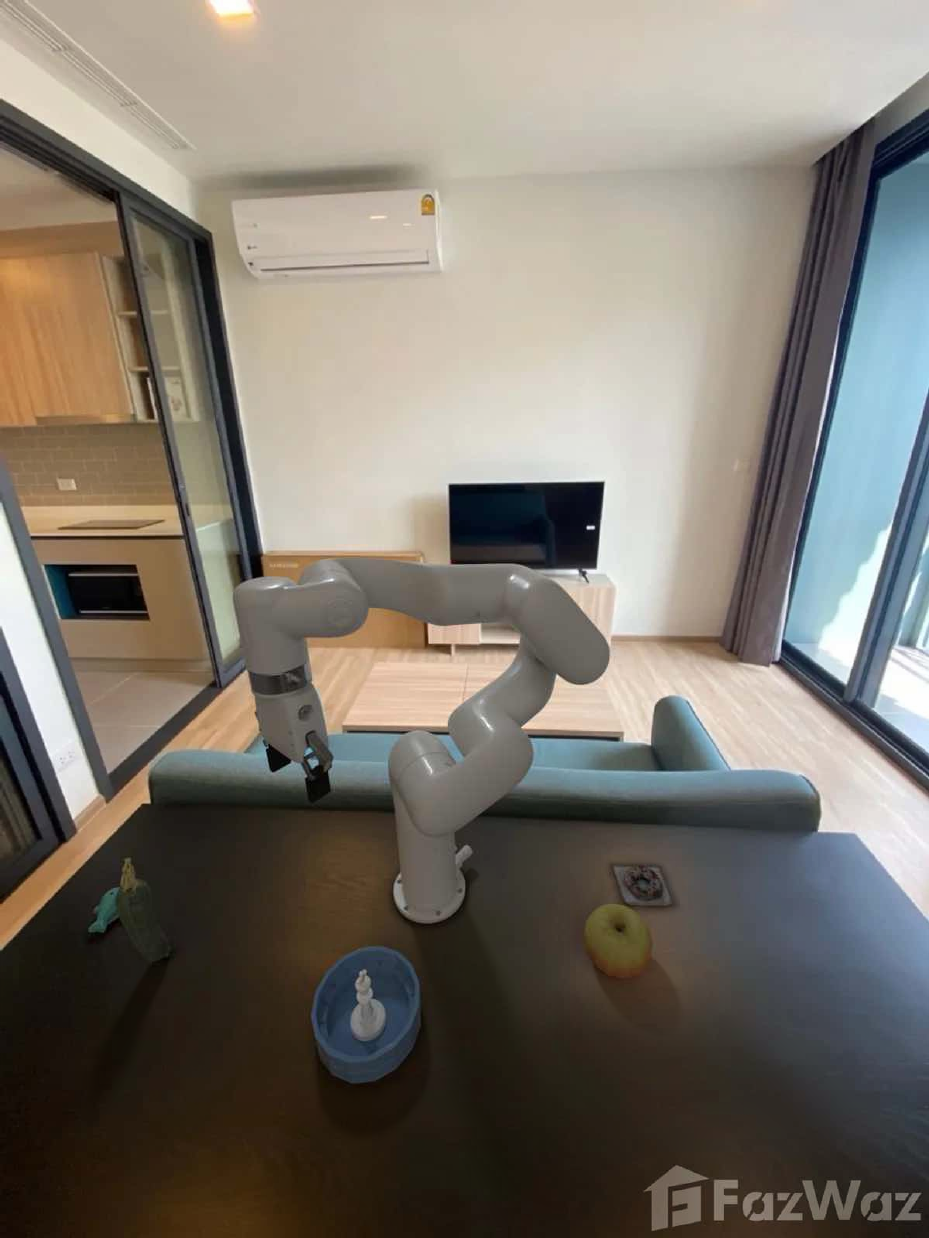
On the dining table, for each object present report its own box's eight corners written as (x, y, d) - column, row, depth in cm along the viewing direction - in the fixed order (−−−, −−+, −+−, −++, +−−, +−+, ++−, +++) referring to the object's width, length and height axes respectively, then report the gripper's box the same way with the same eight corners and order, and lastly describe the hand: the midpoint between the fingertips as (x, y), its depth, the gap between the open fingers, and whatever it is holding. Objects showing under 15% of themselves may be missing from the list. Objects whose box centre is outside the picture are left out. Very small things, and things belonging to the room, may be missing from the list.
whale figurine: (143, 897, 88) (137, 881, 86) (113, 937, 81) (106, 921, 79) (112, 896, 88) (105, 880, 87) (79, 936, 81) (72, 919, 80)
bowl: (376, 949, 78) (373, 927, 76) (442, 1014, 69) (440, 991, 68) (296, 1028, 68) (290, 1005, 66) (361, 1115, 60) (357, 1091, 58)
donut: (623, 905, 84) (625, 896, 84) (612, 866, 92) (613, 858, 91) (673, 906, 84) (675, 897, 83) (658, 867, 91) (660, 859, 90)
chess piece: (392, 1008, 70) (387, 960, 66) (375, 1047, 66) (368, 998, 62) (361, 996, 71) (354, 949, 68) (343, 1033, 67) (334, 985, 63)
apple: (639, 1004, 70) (645, 967, 67) (573, 968, 75) (576, 931, 72) (655, 946, 78) (661, 910, 75) (594, 916, 83) (598, 881, 80)
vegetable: (158, 978, 75) (120, 881, 67) (133, 972, 76) (93, 876, 68) (179, 949, 79) (146, 855, 71) (155, 944, 80) (120, 850, 72)
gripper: (346, 683, 61) (359, 794, 67) (271, 646, 71) (289, 745, 78) (291, 709, 56) (312, 826, 62) (220, 665, 66) (243, 769, 73)
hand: (299, 781), depth 70 cm, fingers open, 9 cm apart
